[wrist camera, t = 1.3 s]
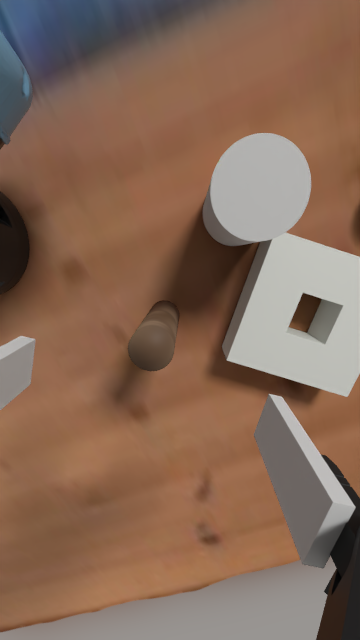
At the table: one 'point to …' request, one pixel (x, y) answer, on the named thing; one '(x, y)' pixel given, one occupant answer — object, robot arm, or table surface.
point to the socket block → (278, 309)
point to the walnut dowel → (155, 337)
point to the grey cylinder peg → (256, 190)
